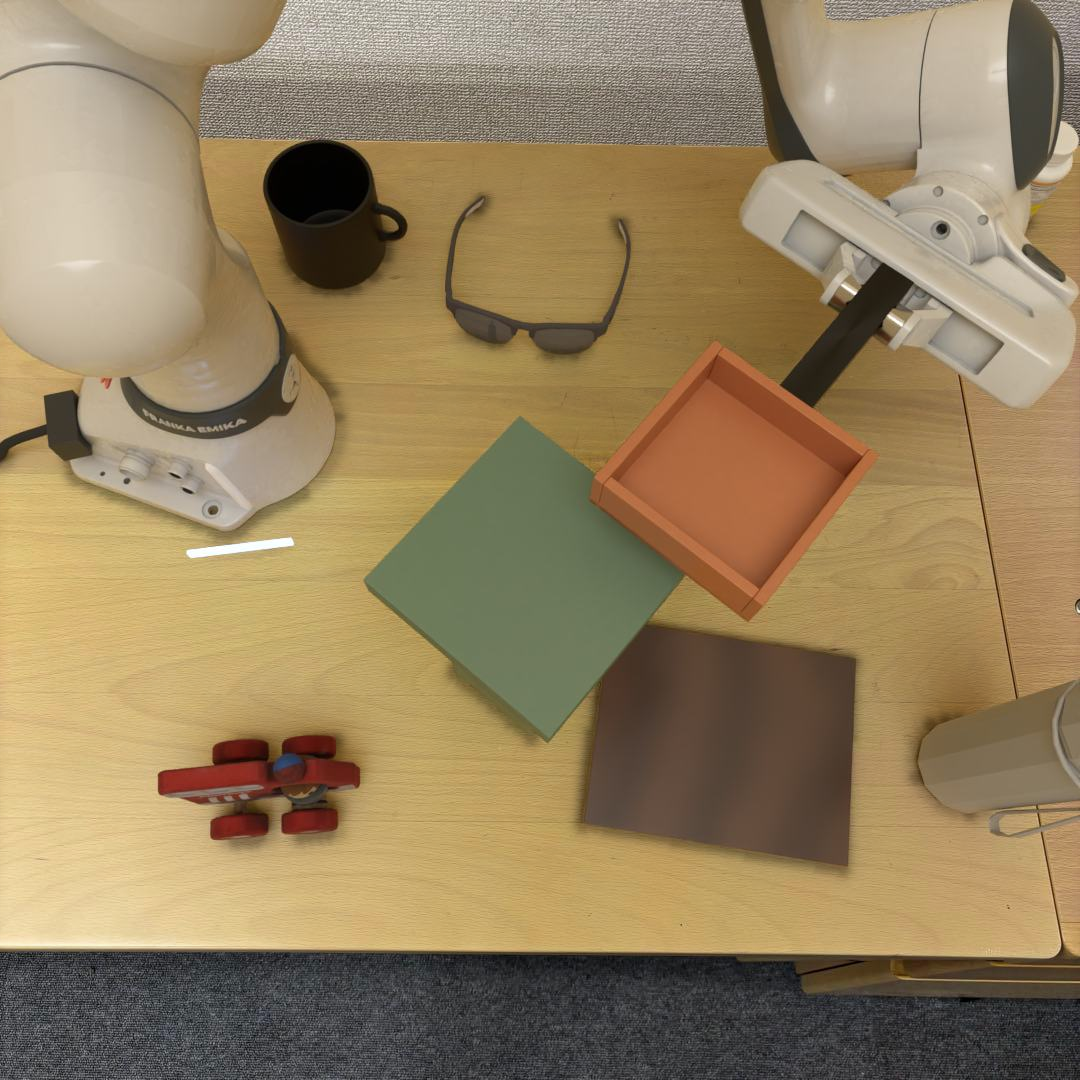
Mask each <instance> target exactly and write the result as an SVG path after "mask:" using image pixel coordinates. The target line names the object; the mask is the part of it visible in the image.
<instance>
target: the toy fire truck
mask: <svg viewBox="0 0 1080 1080" xmlns="http://www.w3.org/2000/svg"><path fill="white" fill-rule="evenodd" d="M211 751H212V757H211V761H212V762H211V763H212V765H203V766H202V765H201V766H194V767H183V768H174V769H173V768H172V769H164V770H161V771H159V772H158V773H157V793H158V795H159V796H161V797H164V798H169V799H181V800H185V801H187V802H190V803H194V804H196V805H199V806H210V805H223V804H233V810H232V811H233V812H232V813H233V814H228V815H220V816H216V817H214V818H212V819H211V820H210V822H209V827H210V829H209V836H210V839H211V840H213V841H230V840H241V839H242V840H243V839H249V838H257V837H263V836H266V835H267V834H269V829H270V827H269V826H270V825H269V824H270V823H269V822H270V821H269V814H268V813H265V812H247V811H248V810H247V809H248V808H247V807H248V805H247V804H248V802H250V801H260V800H269V799H279V798H286V799H287V800H288V801H289V802H291V809H292V810H291V811H288V812H287V811H286V812H284V813H282V814H281V819H280V821H281V826H280V827H281V828H280V829H281V833H282V834H283V835H287V836H288V835H289V836H290V835H292V836H293V835H294V836H295V835H311V834H319V833H328V832H334V831H336V830H337V829H338V827H339V812H338V810H337V809H336V808H332V807H329V808H328V806H327V805H328V803H329V802H328V799H327V795H326V793H334V792H343V791H351V790H357V789H358V788H359V787H360V785H361V768H360V766H358V765H357V764H356V763H354V761H353V762H352V761H344V760H337V759H333V758H335V757H336V755H337V740H336V738H335V737H334V736H332V735H326V734H305V735H304V734H303V735H295V736H291V737H288V738H285V739H284V740H283V741H282V742H281V755H280V756H279V757H277V758H276V760H275V761H269V759H270V743H269V742H268V741H266V740H264V739H258V738H239V739H232V740H231V739H230V740H224V741H220V742H217V743H215V744H214V745H213V746H212V750H211Z"/></svg>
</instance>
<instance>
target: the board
mask: <svg viewBox="0 0 1080 1080" xmlns="http://www.w3.org/2000/svg"><path fill="white" fill-rule="evenodd" d="M856 670H857V658H855V657H849V656H842V655H837V654H830V653H823V652H817V651H811V650H805V649H804V650H803V649H799V648H792V647H786V646H780V645H773V644H767V643H761V642H755V641H749V640H742V639H736V638H731V637H725V636H718V635H713V634H712V635H711V634H706V633H698V632H693V631H685V630H680V629H674V628H668V627H662V626H656V625H650V624H649V625H648V624H646V625H645V626H644V627H643V628H642V630H641V631H640V632H639V633H638V634H637V636H636V637H635V638H634V639H633V640H632V642H631V643H630V644H629V645H628V647H627V648H626V649H625V650H624V651H623V653H622V654H621V655H620V656H619V658H618V659H617V660H616V661H615V662H614V664H613V665H612V666H611V667H610V669H609V670H608V671H607V672H606V673H605V675H604V676H603V677H602V678H601V679H600V685H599V693H598V694H599V695H598V701H597V709H596V716H595V723H594V730H593V731H594V733H593V738H592V746H591V752H590V753H591V754H590V761H589V767H588V768H589V769H588V776H587V783H586V791H585V798H584V805H583V812H582V820H581V824H582V825H583V826H584V825H585V826H590V827H591V826H592V827H598V828H603V829H610V830H616V831H620V832H621V831H622V832H627V833H634V834H640V835H646V836H652V837H658V838H663V839H670V840H675V841H682V842H688V843H694V844H700V845H706V846H713V847H719V848H725V849H731V850H737V851H742V852H748V853H755V854H761V855H766V856H773V857H779V858H785V859H791V860H798V861H803V862H809V863H815V864H822V865H827V866H834V867H839V868H847V867H849V852H850V851H849V850H850V848H849V847H850V828H851V827H850V825H851V823H850V822H851V801H852V799H851V797H852V773H853V750H854V749H853V748H854V720H855V699H856V698H855V697H856V696H855V695H856V672H857V671H856Z"/></svg>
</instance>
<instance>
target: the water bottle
mask: <svg viewBox="0 0 1080 1080" xmlns="http://www.w3.org/2000/svg"><path fill="white" fill-rule="evenodd" d="M917 765H918V768H919V771H920V774H921V778H922V781H923V785H924V787H925V788H926V789H927V790H928V791H929V792H930V793H931V794H932V795H933V796H934V797H935V798H936V799H937V801H938V802H939V803H940V805H942V806H945V807H947V808H950V809H953V810H956V811H958V812H961V813H964V814H973V813H982V812H991V811H995V812H994V813H993V814H992V815H990V817H989V820H987V823H988V829H989V833H990V834H992V835H994V836H996V837H1003V838H1015V839H1021V838H1025V837H1029V836H1031V835H1035V834H1038V833H1042V832H1045V831H1049V830H1053V829H1056V828H1061V827H1063V826H1066V825H1070V824H1073V823H1077V822H1080V814H1078V815H1075V816H1071V817H1067V818H1064V819H1060V820H1057V821H1054V822H1050V823H1047V824H1046V823H1045V824H1043V825H1039V826H1035V827H1032V828H1028V829H1024V830H1021V831H1018V832H1014V833H1011V834H1007V833H1005V832H1002V831H1001V828H1000V821H1001V820H1002V819H1003V818H1004V817H1006V816H1008V815H1009V816H1010V815H1025V814H1026V815H1028V814H1044V813H1047V814H1048V813H1060V812H1061V813H1064V812H1065V813H1066V812H1080V806H1079V807H1057V808H1056V807H1055V808H1054V807H1053V808H1052V807H1051V808H1034V809H1033V808H1028V807H1035V806H1045V805H1055V804H1062V803H1071V802H1072V803H1073V802H1080V677H1079V678H1077V679H1074V680H1070V681H1068V682H1065V683H1064V682H1063V683H1061V684H1058V685H1056V686H1051V687H1049V688H1046V689H1043V690H1040V691H1036V692H1034V693H1030V694H1028V695H1025V696H1021V697H1018V698H1015V699H1012V700H1008V701H1005V702H1003V703H1000V704H997V705H994V706H991V707H987V708H984V709H981V710H978V711H975V712H972V713H969V714H966V715H963V716H959V717H957V718H954V719H950V720H947V721H944V722H941V723H938V724H937V725H936V726H934V728H932V730H931V731H929V732H928V733H927V734H926V736H924V737H923V738H922V740H921V744H920V749H919V753H918V759H917ZM1026 807H1027V808H1028V809H1027V808H1026ZM1018 808H1019V809H1018ZM1020 808H1026V809H1020ZM999 810H1000V811H999Z"/></svg>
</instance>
